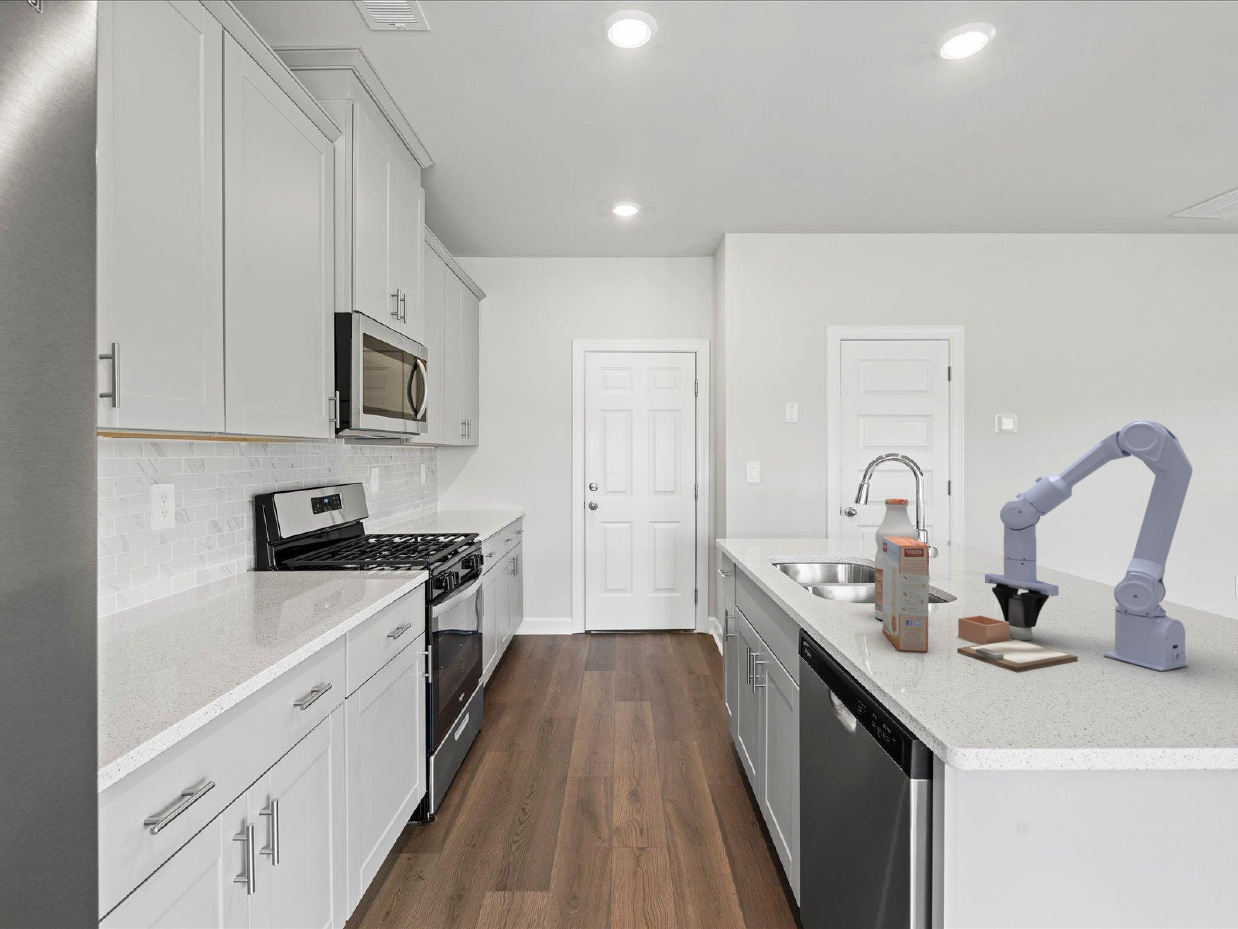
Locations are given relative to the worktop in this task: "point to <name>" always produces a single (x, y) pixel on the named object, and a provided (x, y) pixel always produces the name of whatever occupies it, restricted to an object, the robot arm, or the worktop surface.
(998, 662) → the clipboard
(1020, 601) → the grey lidded canister
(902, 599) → the cracker box
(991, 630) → the terracotta open box
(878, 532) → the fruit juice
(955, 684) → the worktop surface
